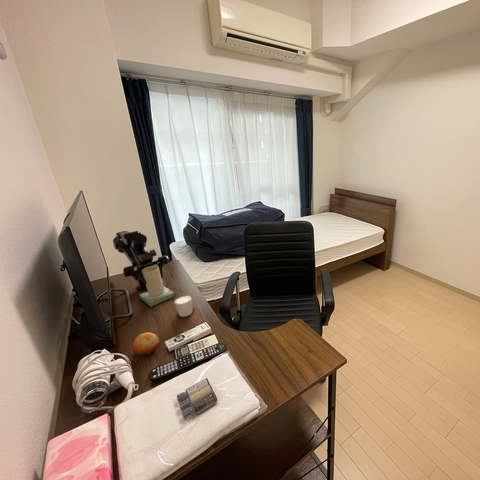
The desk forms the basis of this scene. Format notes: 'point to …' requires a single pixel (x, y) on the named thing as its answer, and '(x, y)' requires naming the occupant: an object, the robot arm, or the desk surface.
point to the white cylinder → (184, 306)
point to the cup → (153, 280)
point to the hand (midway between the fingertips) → (154, 280)
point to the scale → (157, 297)
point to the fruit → (145, 343)
